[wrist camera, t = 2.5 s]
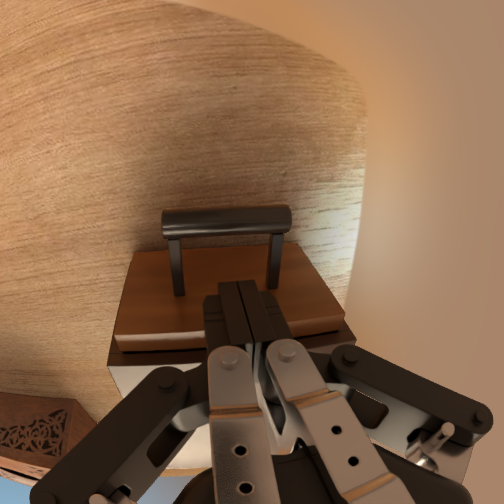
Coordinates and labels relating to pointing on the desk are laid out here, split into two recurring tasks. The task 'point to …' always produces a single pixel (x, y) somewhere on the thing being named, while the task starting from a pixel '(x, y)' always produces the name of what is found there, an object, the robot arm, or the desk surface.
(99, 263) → the desk surface
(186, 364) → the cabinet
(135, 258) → the drawer
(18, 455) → the tissue box cover
